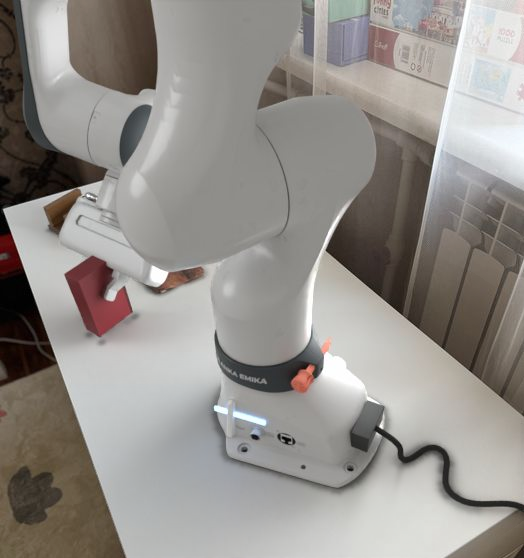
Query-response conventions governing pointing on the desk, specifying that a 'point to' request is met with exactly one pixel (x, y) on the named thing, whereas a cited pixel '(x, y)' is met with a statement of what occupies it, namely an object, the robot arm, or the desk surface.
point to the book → (97, 296)
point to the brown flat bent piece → (179, 278)
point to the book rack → (60, 209)
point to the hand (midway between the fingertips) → (96, 294)
